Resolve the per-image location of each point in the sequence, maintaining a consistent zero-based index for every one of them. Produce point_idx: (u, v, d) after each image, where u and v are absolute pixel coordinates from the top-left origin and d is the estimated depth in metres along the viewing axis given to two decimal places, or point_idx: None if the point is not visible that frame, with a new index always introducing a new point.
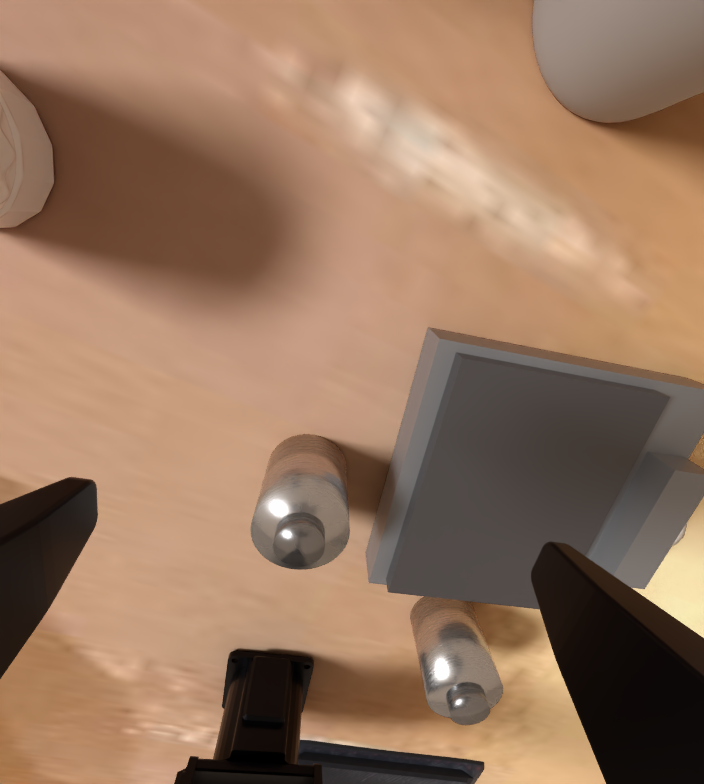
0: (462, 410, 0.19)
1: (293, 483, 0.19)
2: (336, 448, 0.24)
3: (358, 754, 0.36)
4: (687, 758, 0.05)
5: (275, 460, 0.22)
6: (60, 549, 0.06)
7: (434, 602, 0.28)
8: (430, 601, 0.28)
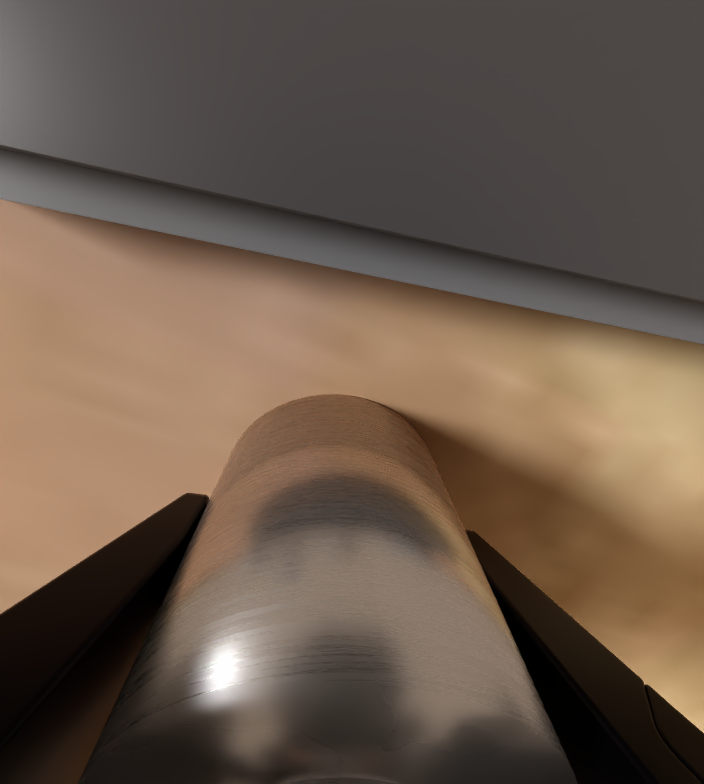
0: None
1: None
2: None
3: None
4: None
5: None
6: None
7: (279, 420, 0.07)
8: (269, 422, 0.08)
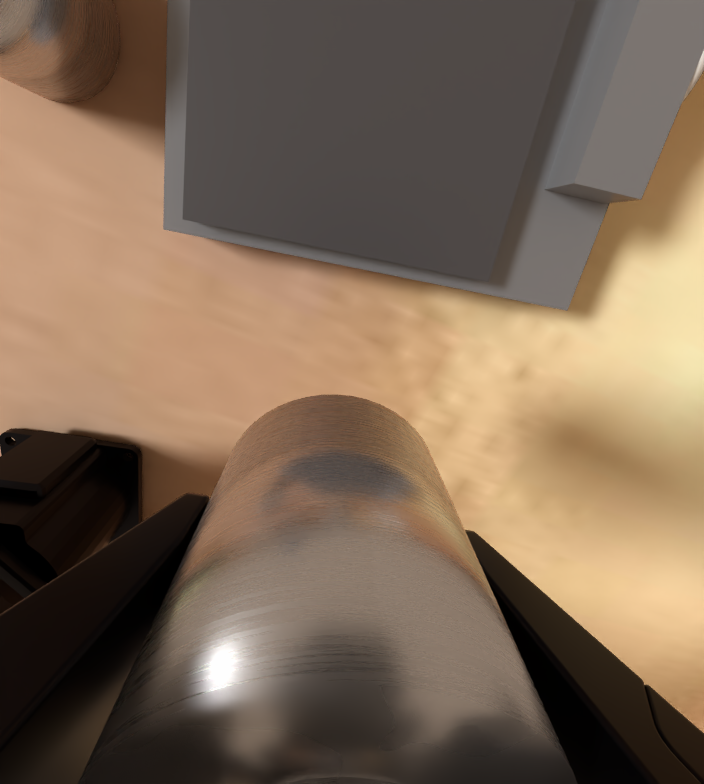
0: None
1: None
2: None
3: None
4: None
5: None
6: None
7: (279, 420, 0.07)
8: (269, 422, 0.08)
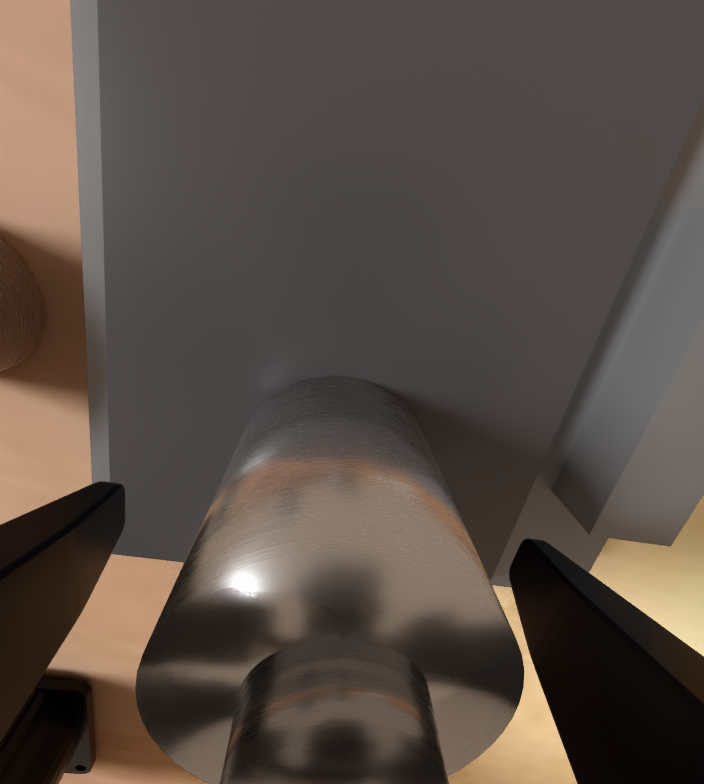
0: None
1: None
2: None
3: None
4: (653, 756, 0.05)
5: None
6: (93, 553, 0.06)
7: (288, 396, 0.09)
8: (279, 398, 0.09)
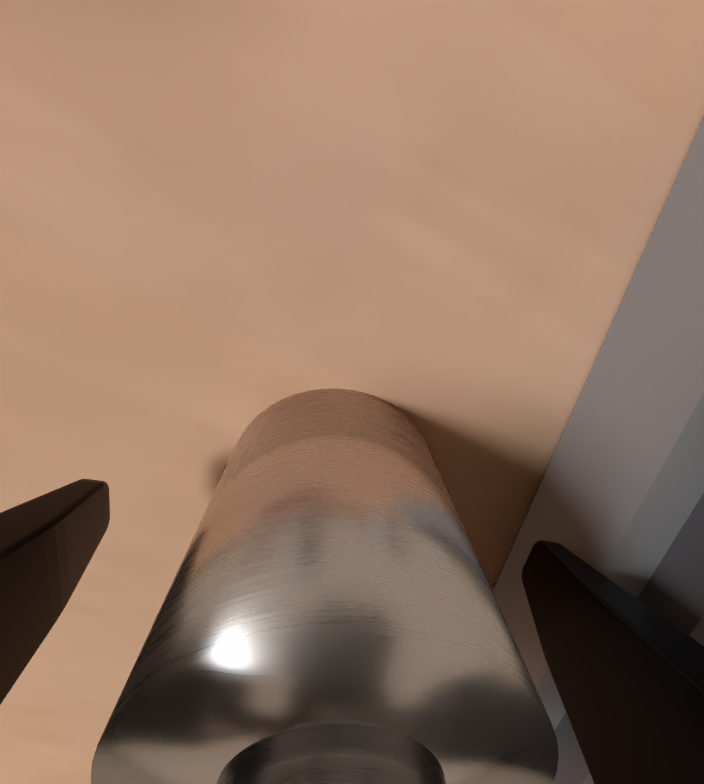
0: None
1: (300, 575, 0.04)
2: (414, 428, 0.09)
3: None
4: (673, 757, 0.05)
5: (239, 461, 0.07)
6: (74, 551, 0.06)
7: None
8: None
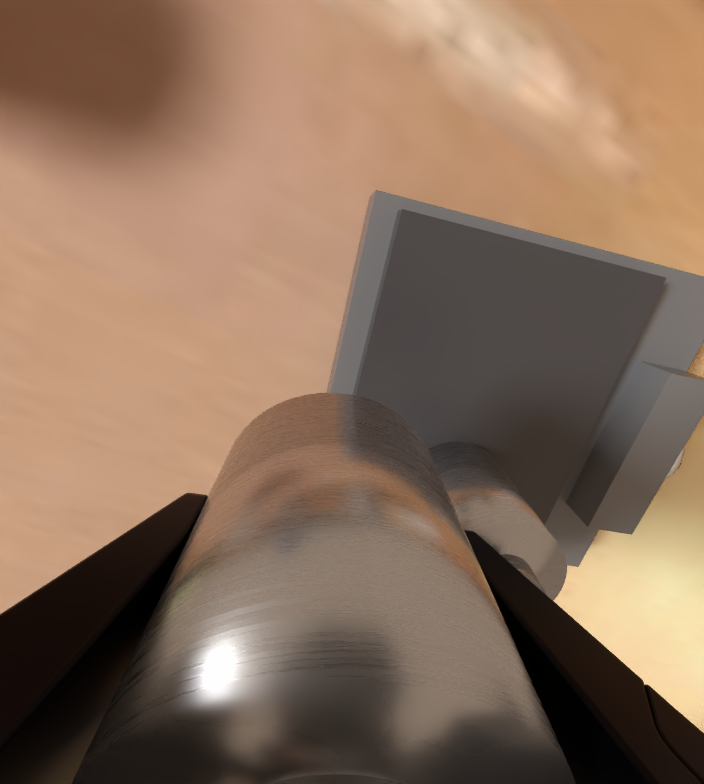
0: (405, 285, 0.15)
1: (290, 606, 0.03)
2: (416, 434, 0.08)
3: None
4: None
5: (231, 471, 0.06)
6: None
7: (441, 454, 0.17)
8: (435, 454, 0.17)
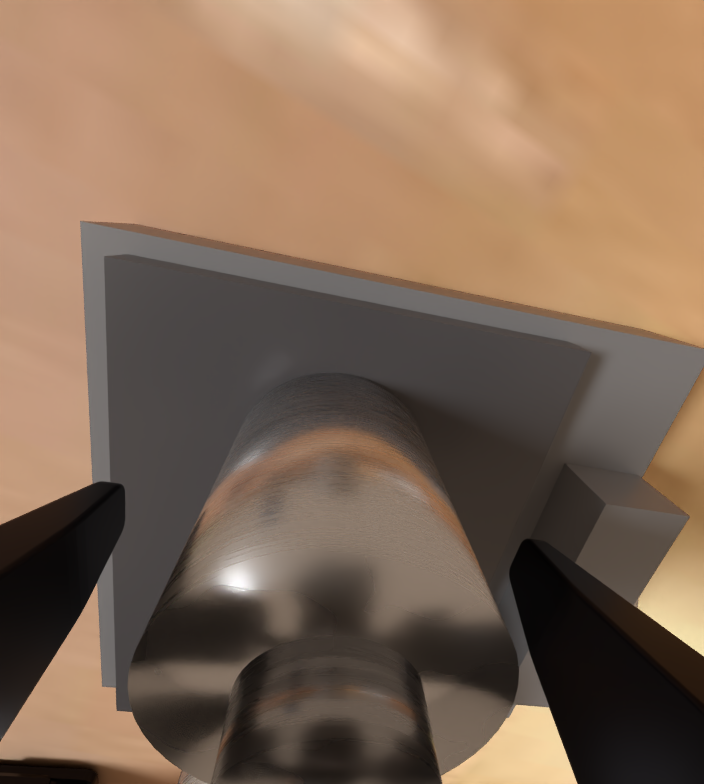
0: (146, 379, 0.09)
1: (301, 514, 0.05)
2: (406, 409, 0.09)
3: None
4: (653, 756, 0.05)
5: (246, 434, 0.08)
6: (93, 553, 0.06)
7: None
8: None
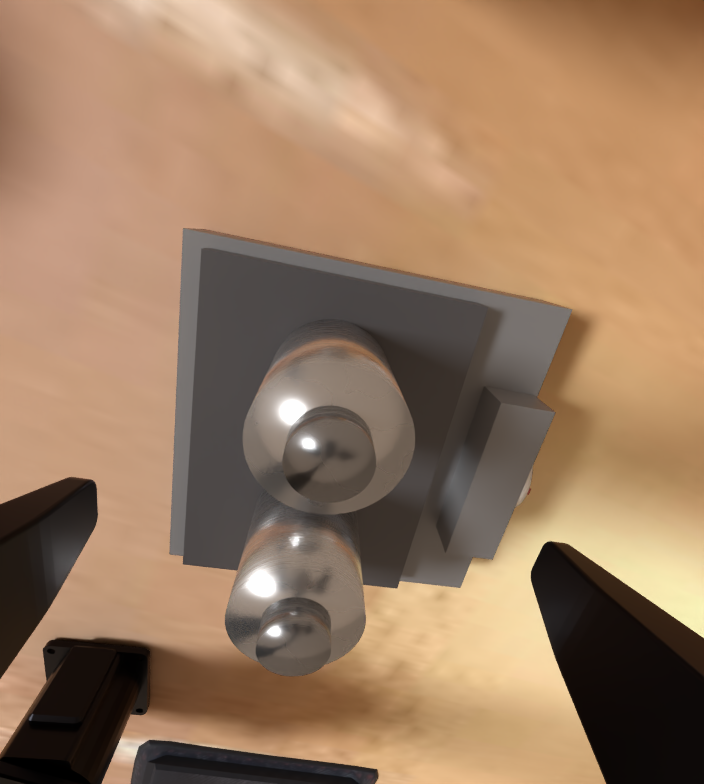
0: (219, 323, 0.15)
1: (318, 356, 0.11)
2: (376, 341, 0.15)
3: (229, 759, 0.31)
4: (687, 758, 0.05)
5: (283, 347, 0.14)
6: (60, 549, 0.06)
7: None
8: None
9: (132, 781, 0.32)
